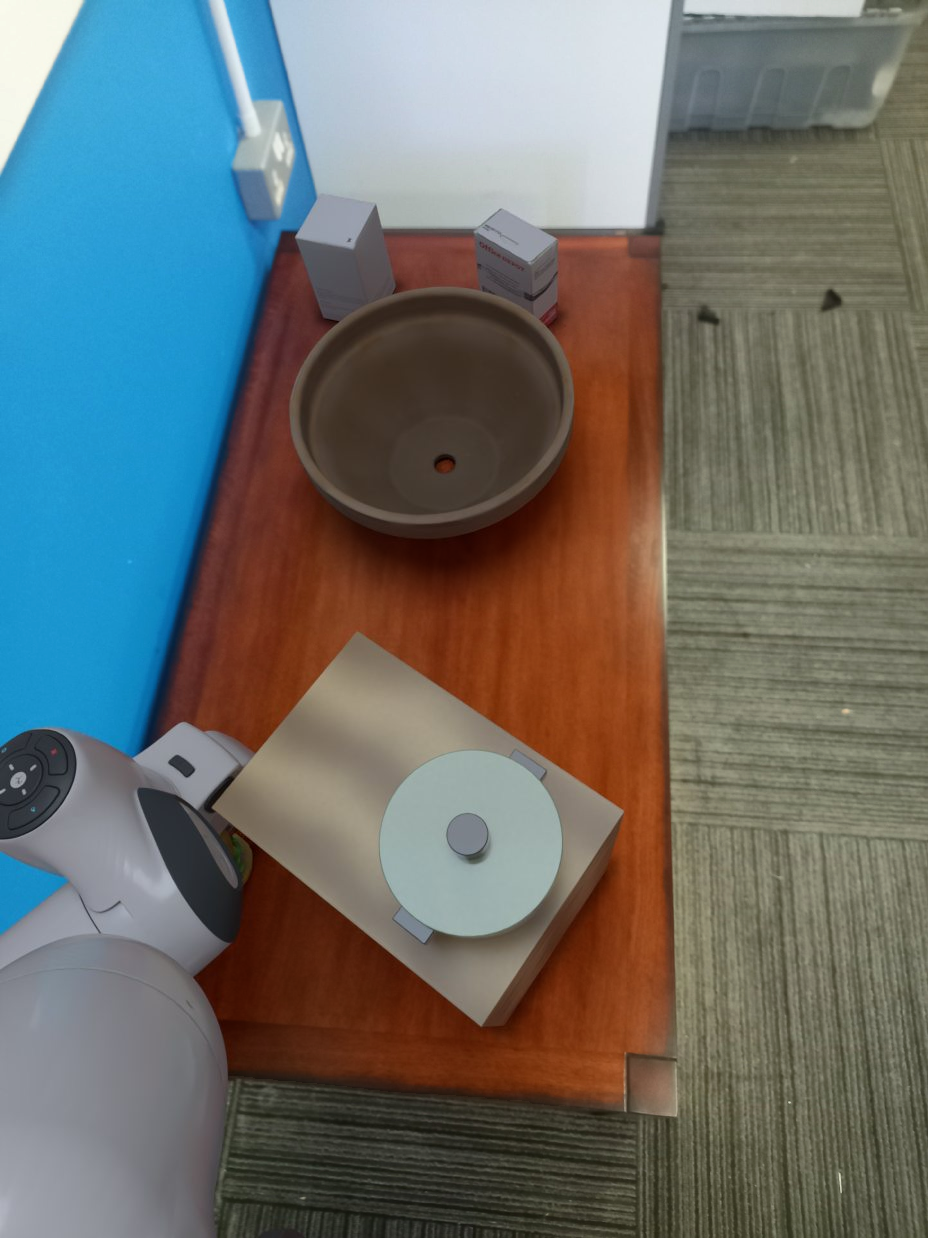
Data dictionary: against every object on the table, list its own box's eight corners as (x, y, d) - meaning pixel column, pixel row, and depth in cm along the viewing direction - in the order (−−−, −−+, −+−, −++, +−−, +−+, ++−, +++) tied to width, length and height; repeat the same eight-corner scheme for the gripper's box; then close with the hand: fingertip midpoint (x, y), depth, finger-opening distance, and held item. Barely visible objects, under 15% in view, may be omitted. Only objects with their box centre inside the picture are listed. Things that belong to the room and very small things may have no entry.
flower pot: (531, 612, 91) (526, 550, 79) (280, 548, 97) (241, 482, 85) (602, 395, 101) (607, 311, 89) (372, 349, 107) (348, 265, 96)
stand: (503, 1026, 75) (481, 1027, 54) (302, 864, 83) (210, 807, 61) (607, 868, 80) (624, 811, 58) (407, 728, 87) (357, 630, 65)
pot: (490, 995, 54) (479, 990, 47) (356, 888, 58) (326, 868, 50) (602, 828, 58) (608, 799, 50) (468, 736, 61) (456, 697, 54)
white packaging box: (397, 286, 111) (379, 201, 100) (374, 331, 109) (352, 249, 97) (344, 274, 113) (320, 190, 101) (320, 318, 110) (292, 236, 99)
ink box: (559, 316, 107) (559, 237, 96) (533, 342, 106) (530, 264, 95) (506, 284, 110) (500, 203, 99) (479, 308, 108) (470, 230, 98)
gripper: (62, 980, 63) (145, 987, 75) (253, 748, 68) (301, 790, 81) (5, 924, 65) (95, 940, 77) (195, 704, 70) (250, 752, 83)
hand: (202, 862), depth 79 cm, fingers closed on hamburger, 6 cm apart
